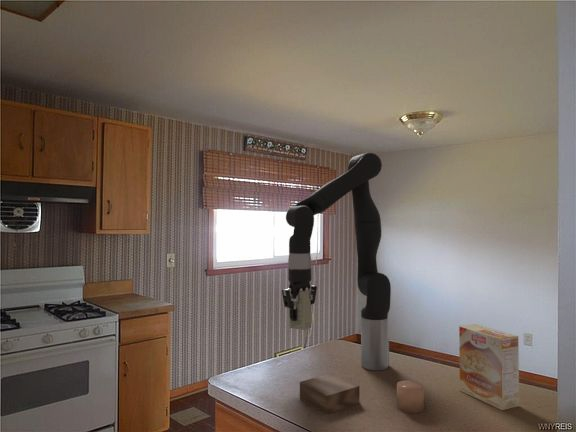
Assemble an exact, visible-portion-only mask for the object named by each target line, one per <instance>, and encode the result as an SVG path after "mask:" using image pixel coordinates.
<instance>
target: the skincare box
mask: <svg viewBox="0 0 576 432" xmlns="http://www.w3.org/2000/svg"><path fill="white" fill-rule="evenodd" d="M290 293H291V292H290ZM291 295H292V294H291ZM292 299H296V298H294V297H293V296H292ZM311 300H312V297H311V298H310V290H309V291H302V292H300V300H299V302H298V303H297V307H296V309H297V320H296V321H292V320H291V319H290V309H289V308H288V323H289V324H288V326H289V329H295V330H300V331H301V330H303V331H306V330H309V329H310V328H312V312H311V311H312V305H311ZM293 304H294V302H293Z"/></svg>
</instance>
